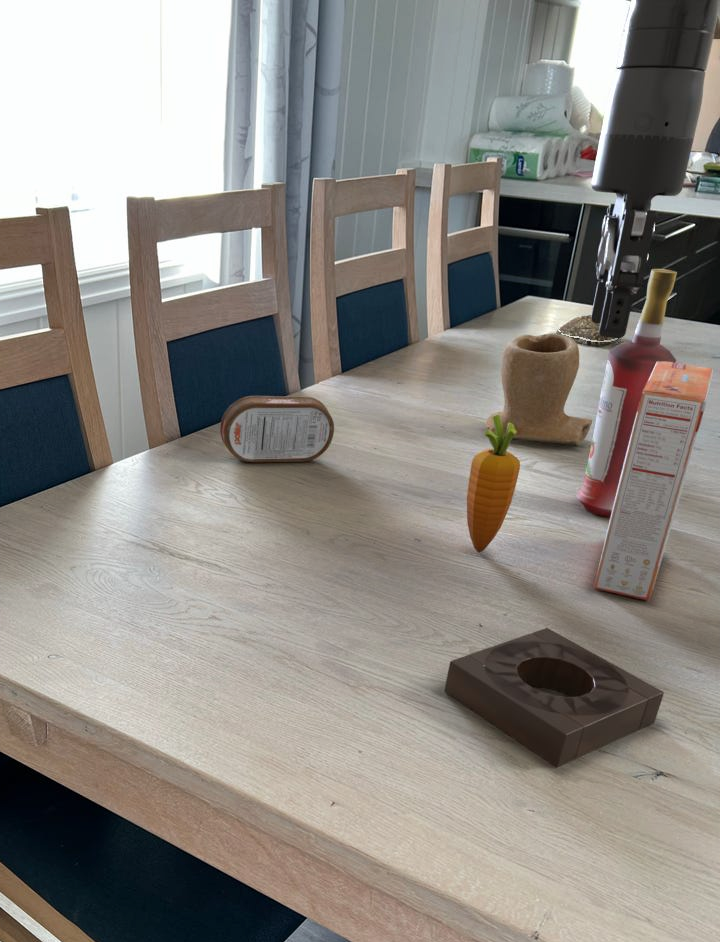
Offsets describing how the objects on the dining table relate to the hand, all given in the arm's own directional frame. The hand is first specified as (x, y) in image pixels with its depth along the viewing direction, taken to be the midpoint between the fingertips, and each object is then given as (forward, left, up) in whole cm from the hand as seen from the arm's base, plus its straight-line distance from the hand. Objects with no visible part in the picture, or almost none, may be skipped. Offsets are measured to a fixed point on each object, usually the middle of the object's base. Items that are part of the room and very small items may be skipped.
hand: (606, 329), depth 90 cm
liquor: (-22, -10, -26) cm, 35 cm away
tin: (+5, -42, -26) cm, 49 cm away
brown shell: (-103, -77, -26) cm, 131 cm away
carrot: (+2, -8, -26) cm, 27 cm away
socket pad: (+20, +17, -25) cm, 37 cm away
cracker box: (-9, +3, -26) cm, 27 cm away
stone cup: (-36, -33, -26) cm, 55 cm away
